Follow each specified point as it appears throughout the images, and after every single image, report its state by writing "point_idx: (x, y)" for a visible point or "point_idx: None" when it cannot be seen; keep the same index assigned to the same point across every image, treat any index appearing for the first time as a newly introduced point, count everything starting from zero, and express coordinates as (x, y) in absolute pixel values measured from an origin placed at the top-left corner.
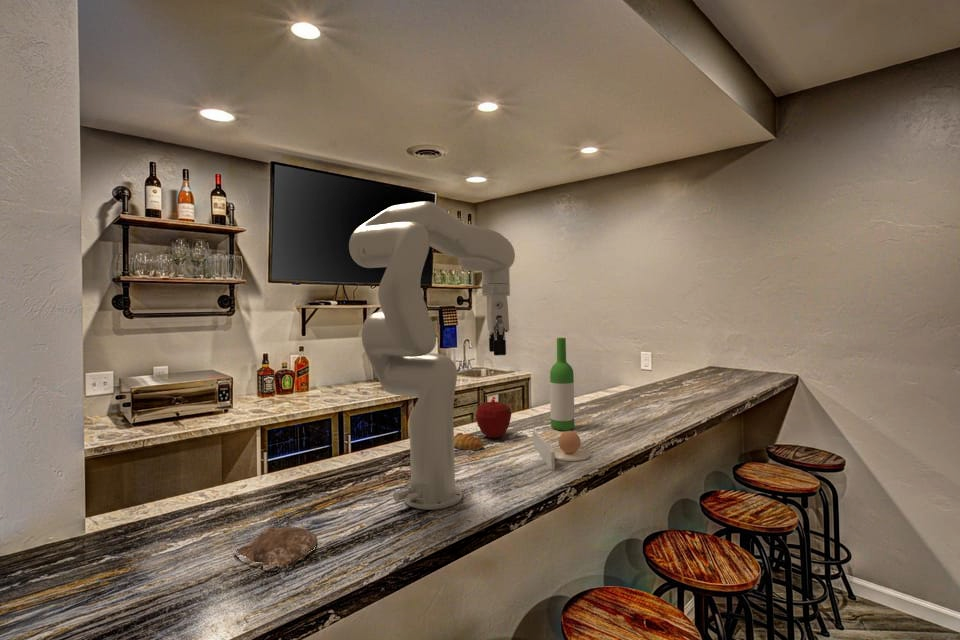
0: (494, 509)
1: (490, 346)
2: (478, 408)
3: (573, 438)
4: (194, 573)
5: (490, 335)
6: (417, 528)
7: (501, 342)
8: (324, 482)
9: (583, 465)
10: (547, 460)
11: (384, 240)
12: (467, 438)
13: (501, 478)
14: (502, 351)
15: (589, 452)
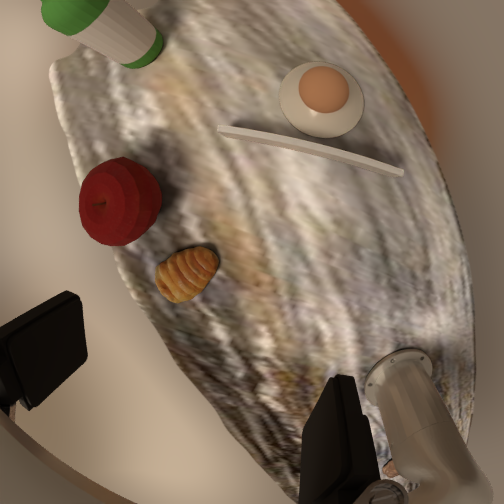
0: (461, 321)
1: (68, 373)
2: (104, 243)
3: (346, 87)
4: (398, 481)
5: (13, 412)
6: (444, 393)
7: (370, 480)
8: (279, 453)
9: (385, 110)
10: (363, 167)
11: None
12: (192, 282)
13: (387, 277)
14: (363, 417)
15: (332, 64)
